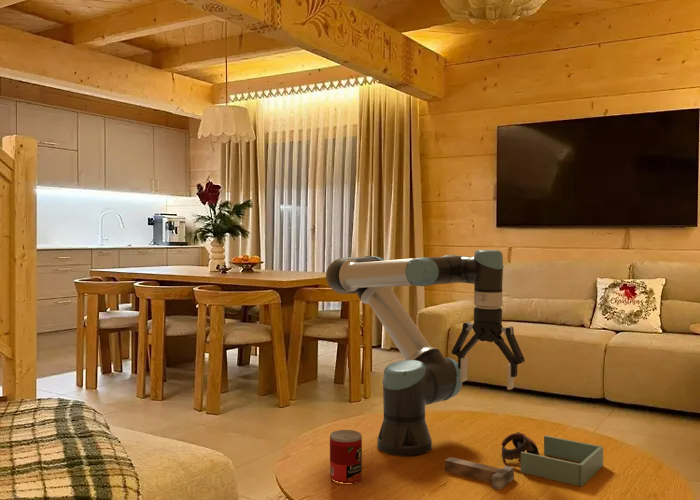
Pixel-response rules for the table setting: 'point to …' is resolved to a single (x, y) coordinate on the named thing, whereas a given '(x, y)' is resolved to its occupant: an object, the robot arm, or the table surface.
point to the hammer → (480, 472)
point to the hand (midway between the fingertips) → (486, 384)
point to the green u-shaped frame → (564, 469)
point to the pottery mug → (518, 446)
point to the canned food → (346, 456)
